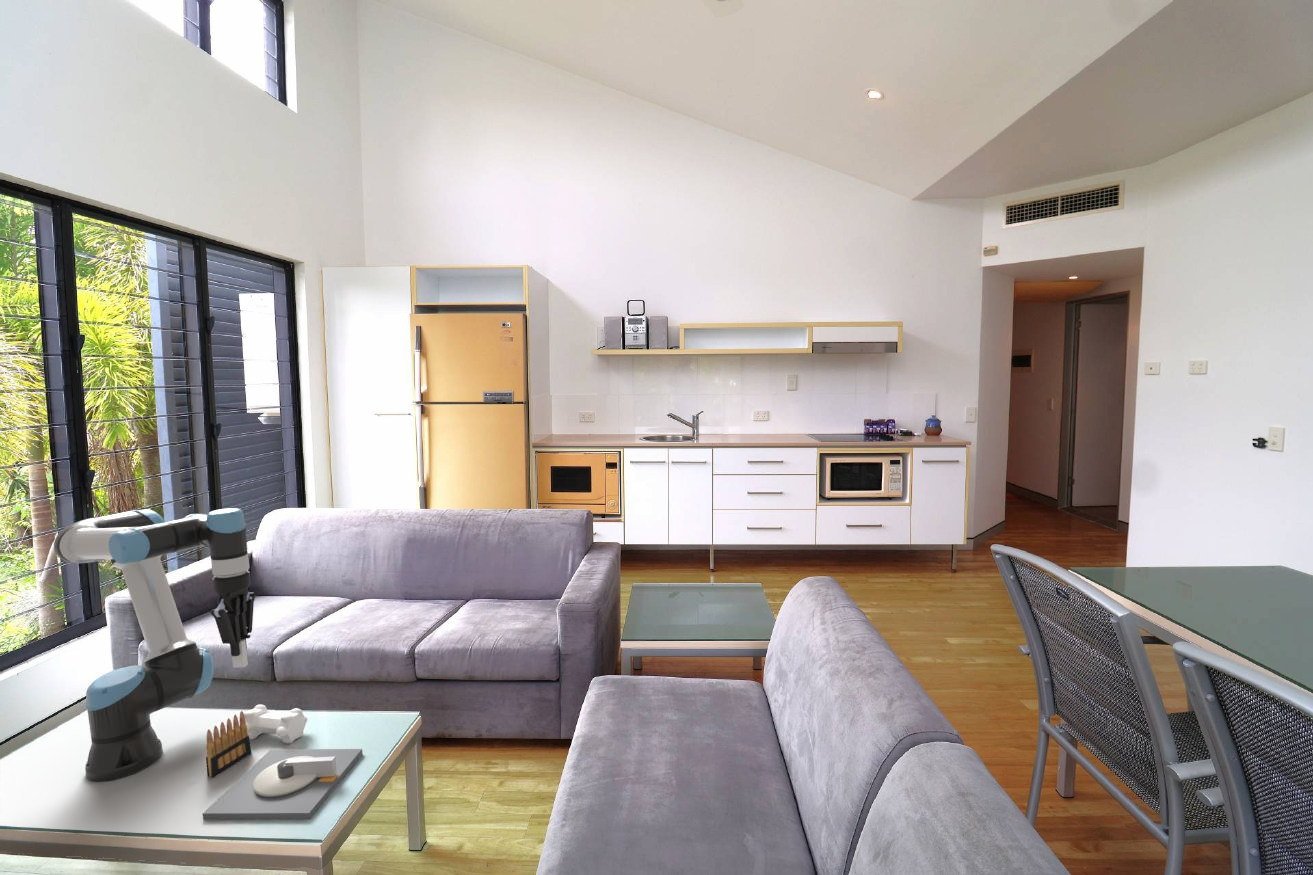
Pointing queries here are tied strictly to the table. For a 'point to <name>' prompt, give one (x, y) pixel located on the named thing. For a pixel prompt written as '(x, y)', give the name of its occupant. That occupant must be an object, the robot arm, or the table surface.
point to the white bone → (275, 723)
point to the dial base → (295, 805)
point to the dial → (292, 775)
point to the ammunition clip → (227, 746)
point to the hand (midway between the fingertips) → (240, 666)
